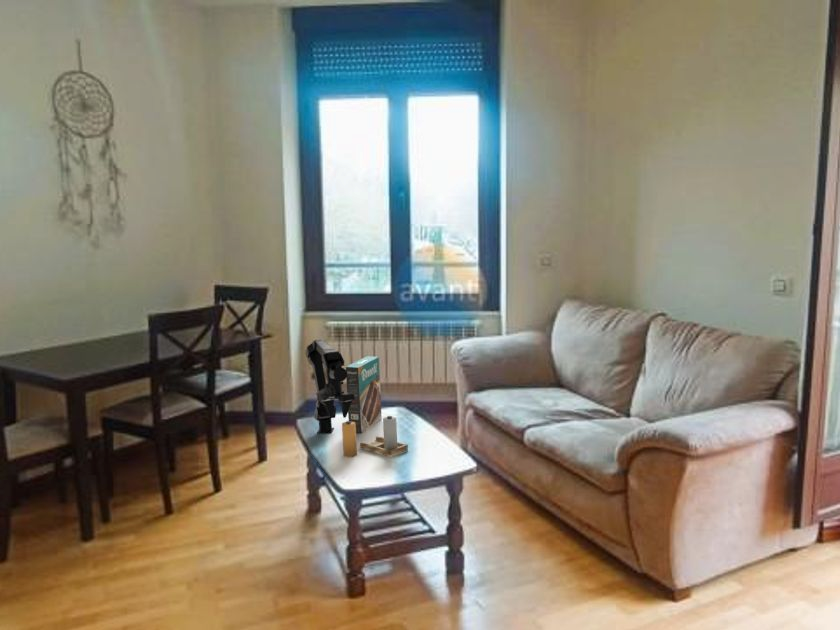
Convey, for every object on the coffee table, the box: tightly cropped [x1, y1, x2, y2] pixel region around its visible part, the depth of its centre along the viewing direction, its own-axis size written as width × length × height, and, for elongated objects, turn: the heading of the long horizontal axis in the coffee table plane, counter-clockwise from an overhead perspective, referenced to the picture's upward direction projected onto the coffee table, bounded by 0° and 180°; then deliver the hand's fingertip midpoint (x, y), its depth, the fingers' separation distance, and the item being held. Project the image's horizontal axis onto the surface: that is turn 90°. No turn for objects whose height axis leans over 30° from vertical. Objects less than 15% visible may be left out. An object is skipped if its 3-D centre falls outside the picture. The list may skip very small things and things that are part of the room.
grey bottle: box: [382, 415, 398, 450], centre depth 276 cm, size 5×5×14 cm
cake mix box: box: [345, 355, 383, 435], centre depth 310 cm, size 22×6×30 cm, turn 159°
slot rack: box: [359, 435, 409, 459], centre depth 280 cm, size 18×10×2 cm, turn 47°
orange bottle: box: [341, 420, 358, 458], centre depth 275 cm, size 5×5×14 cm
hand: (337, 417), depth 286 cm, fingers open, 9 cm apart
